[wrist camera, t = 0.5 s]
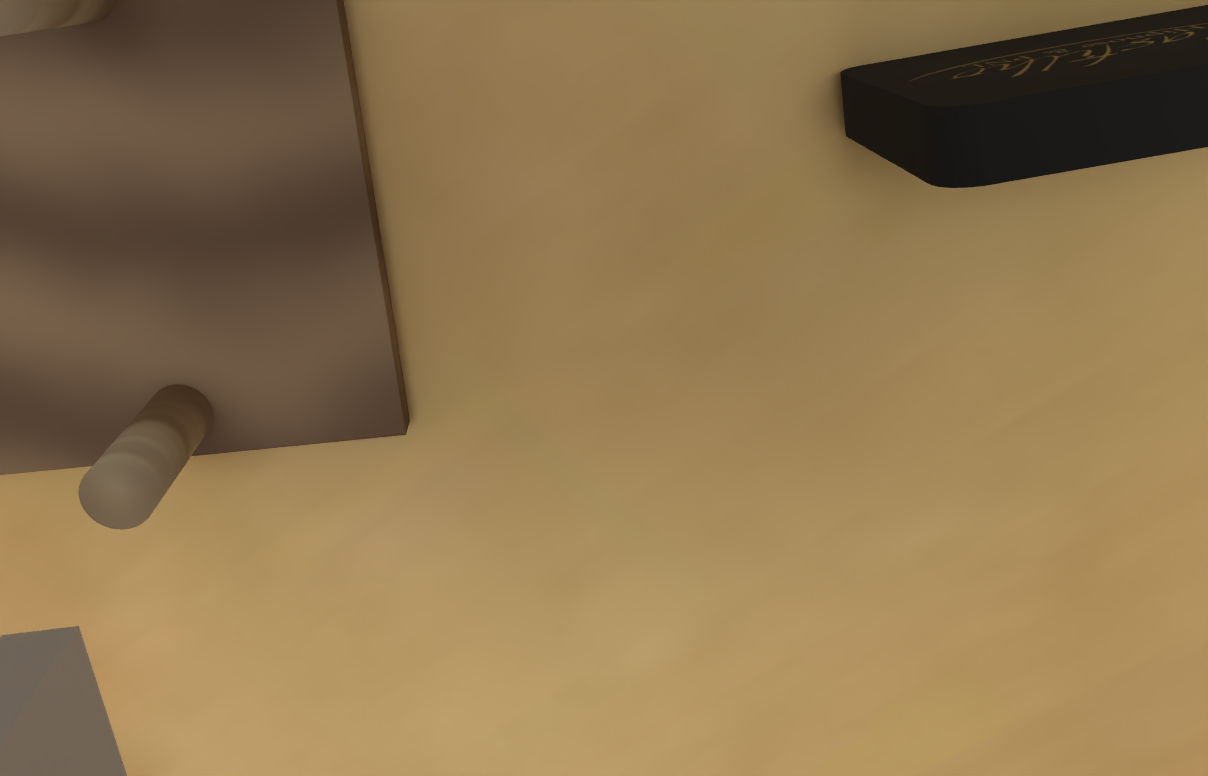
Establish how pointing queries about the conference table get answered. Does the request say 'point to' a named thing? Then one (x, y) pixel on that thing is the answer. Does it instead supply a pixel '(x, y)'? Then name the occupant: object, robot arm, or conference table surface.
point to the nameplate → (1037, 101)
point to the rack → (184, 242)
